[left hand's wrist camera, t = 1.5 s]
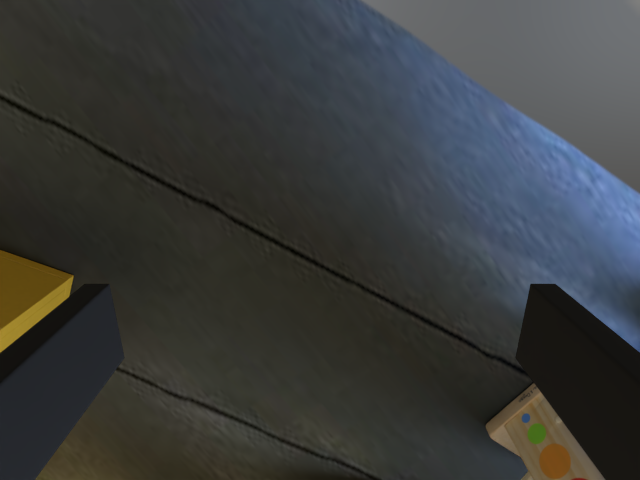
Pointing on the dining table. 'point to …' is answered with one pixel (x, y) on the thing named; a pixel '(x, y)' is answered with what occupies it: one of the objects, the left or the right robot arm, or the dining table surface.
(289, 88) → the dining table surface
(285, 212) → the dining table surface
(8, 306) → the cabinet
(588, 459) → the pounding bench toy
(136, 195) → the dining table surface
